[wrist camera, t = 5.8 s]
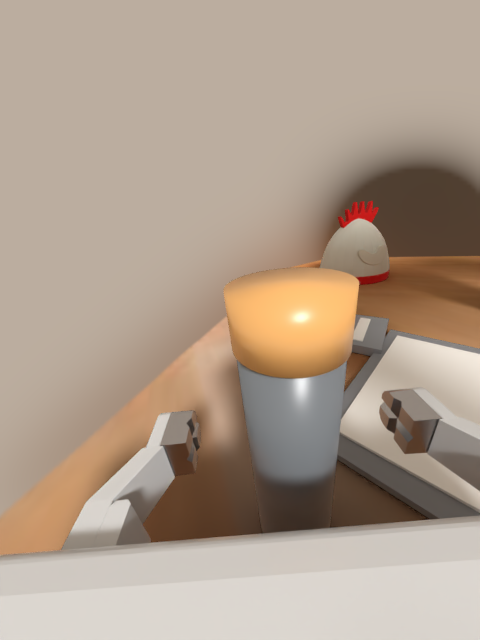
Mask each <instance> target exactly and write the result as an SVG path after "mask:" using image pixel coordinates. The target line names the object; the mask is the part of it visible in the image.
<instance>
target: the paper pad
mask: <svg viewBox="0 0 480 640" xmlns="http://www.w3.org/2000/svg"><path fill="white" fill-rule="evenodd" d="M417 387H423V388H425V389H426V390H427V391H429V392H430V393H431V394H432V395H433V396H434V397H435V398H436V399H438V400H439V401H440V402H441V403H442V404H443V405H444V406H445V407H446V408H448V409H449V410H450V411H451V412H452V413H453V414H454V415H455V416H456V417H462V418H465V419H467V420H469V421H471V422H473V423H476V424H478V425H480V349H478V348H474V347H469V346H465V345H460V344H455V343H451V342H446V341H442V340H437V339H432V338H428V337H423V336H418V335H414V334H409V333H405V332H400V331H395V330H390V331H389V332H388V334H387V335H386V337H385V339H384V343H383V348H382V352H381V354H378V353H373V354H372V355H371V357H370V358H369V360H368V361H367V362H366V364H365V365H364V366H363V368H362V369H361V370H360V372H359V373H358V374H357V376H356V377H355V378H354V380H353V381H352V382H351V384H350V385H349V387H348V388H347V389H346V391H345V392H344V395H343V405H342V414H341V424H340V434H339V444H338V454H337V460H339V461H340V462H342V463H343V464H345V465H347V466H348V467H350V468H351V469H353V470H354V471H356V472H357V473H359V474H360V475H362V476H364V477H365V478H367V479H368V480H370V481H371V482H373V483H374V484H376V485H378V486H379V487H381V488H382V489H384V490H385V491H387V492H388V493H390V494H392V495H393V496H395V497H396V498H398V499H399V500H401V501H402V502H404V503H405V504H407V505H409V506H410V507H412V508H413V509H415V510H416V511H418V512H419V513H421V514H423V515H424V516H426V517H427V518H429V519H430V520H431V519H443V518H456V517H468V516H480V491H479V490H477V489H476V488H474V487H473V486H472V485H470V484H469V483H467V482H466V481H465V480H463V479H462V478H460V477H459V476H458V475H456V474H455V473H453V472H452V471H450V470H449V469H448V468H446V467H445V466H443V465H442V464H441V463H439V462H438V461H436V460H435V459H434V458H432V457H431V456H429V455H428V454H427V453H415V454H404V453H403V451H402V450H401V448H400V447H399V446H398V444H397V443H396V442H395V440H394V433H392V432H391V431H389V430H387V429H386V427H385V426H384V425H383V423H382V421H381V419H380V414H379V409H380V405H381V404H382V403H383V402H384V401H383V399H382V393H383V392H384V391H389V390H398V389H409V388H417Z"/></svg>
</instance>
